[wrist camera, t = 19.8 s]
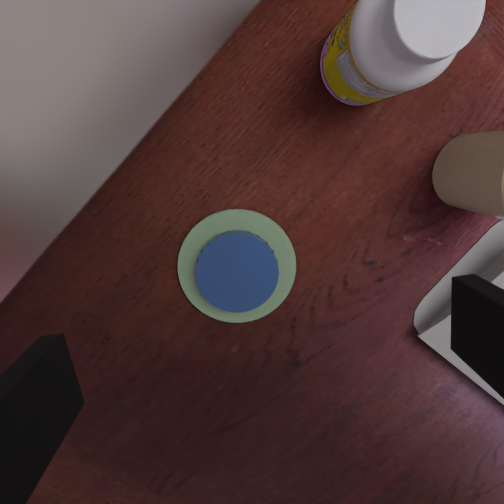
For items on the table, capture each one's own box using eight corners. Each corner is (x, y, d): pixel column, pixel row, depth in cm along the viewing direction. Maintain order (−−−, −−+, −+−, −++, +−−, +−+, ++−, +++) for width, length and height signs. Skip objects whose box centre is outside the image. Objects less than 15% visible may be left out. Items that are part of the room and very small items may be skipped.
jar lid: (280, 301, 35) (282, 308, 34) (202, 310, 35) (201, 318, 34) (273, 224, 33) (275, 228, 32) (190, 234, 33) (188, 238, 32)
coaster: (168, 217, 33) (166, 218, 33) (289, 200, 33) (290, 201, 33) (189, 327, 36) (188, 330, 36) (300, 311, 36) (301, 314, 36)
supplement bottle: (369, 0, 29) (469, -109, 17) (411, 72, 31) (530, 21, 19) (301, 55, 30) (349, -10, 18) (345, 123, 32) (417, 107, 19)
